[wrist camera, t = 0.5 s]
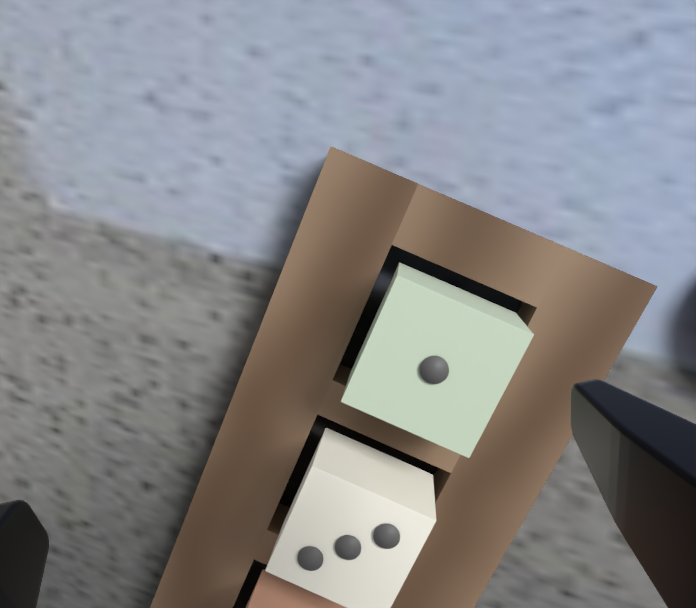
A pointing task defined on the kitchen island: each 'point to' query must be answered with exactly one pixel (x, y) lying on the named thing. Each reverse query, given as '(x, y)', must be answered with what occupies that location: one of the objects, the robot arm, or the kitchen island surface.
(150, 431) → the kitchen island surface
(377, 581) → the button cream
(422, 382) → the button sage
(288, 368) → the button board
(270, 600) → the salmon pink square block
